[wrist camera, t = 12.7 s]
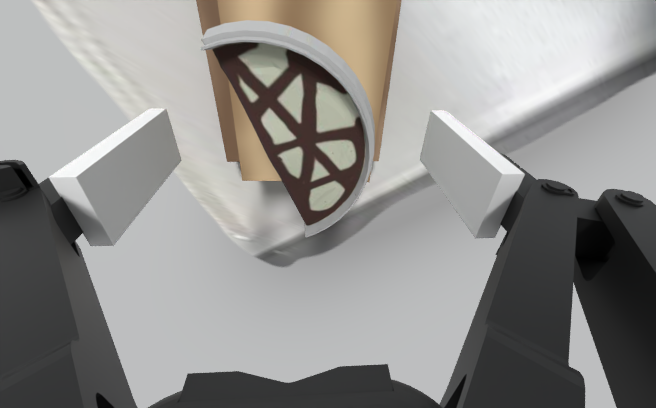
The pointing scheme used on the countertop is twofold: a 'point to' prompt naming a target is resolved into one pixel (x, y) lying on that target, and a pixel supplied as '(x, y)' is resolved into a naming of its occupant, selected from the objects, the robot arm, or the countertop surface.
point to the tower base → (222, 91)
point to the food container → (301, 113)
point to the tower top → (333, 30)
